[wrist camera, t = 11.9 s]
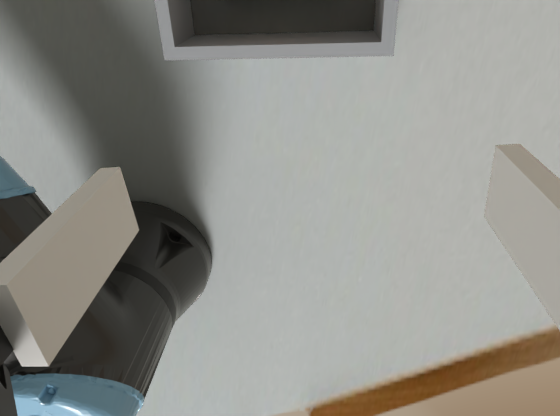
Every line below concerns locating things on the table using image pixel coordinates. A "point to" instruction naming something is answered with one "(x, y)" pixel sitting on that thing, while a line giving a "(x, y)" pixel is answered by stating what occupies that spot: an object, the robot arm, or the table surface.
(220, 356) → the table surface
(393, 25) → the bin
